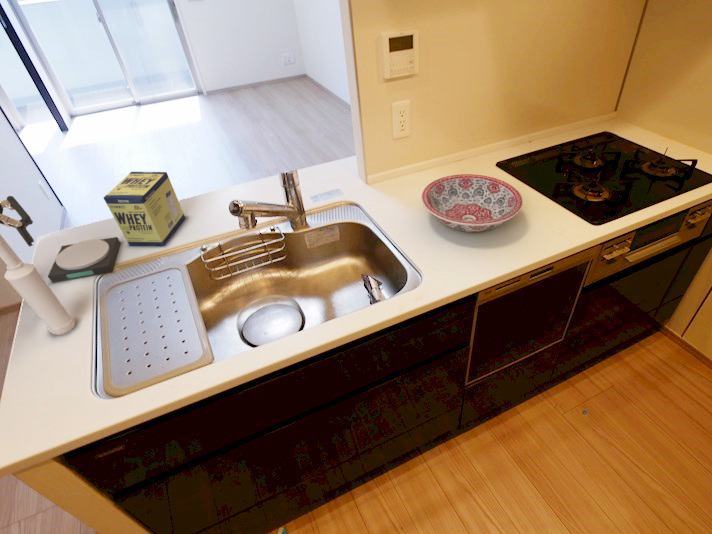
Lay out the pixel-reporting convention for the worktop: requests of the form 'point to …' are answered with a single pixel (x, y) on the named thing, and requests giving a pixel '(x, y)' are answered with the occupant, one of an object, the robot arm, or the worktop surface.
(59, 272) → the scale
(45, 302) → the bottle
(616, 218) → the worktop surface
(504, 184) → the ceramic bowl
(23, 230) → the robot arm
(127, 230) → the protein box
